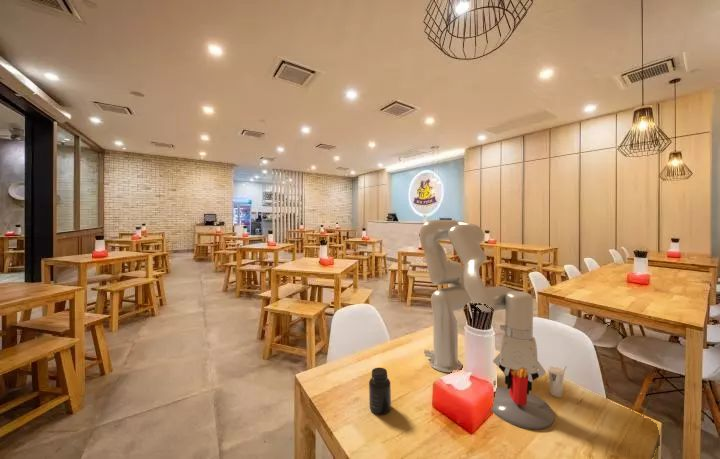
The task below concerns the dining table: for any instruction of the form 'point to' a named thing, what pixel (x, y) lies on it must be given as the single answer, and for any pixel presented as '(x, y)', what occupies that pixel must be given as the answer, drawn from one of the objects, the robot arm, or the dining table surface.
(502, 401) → the plate
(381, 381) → the supplement bottle
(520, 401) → the french fries
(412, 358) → the dining table surface
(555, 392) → the milkshake
